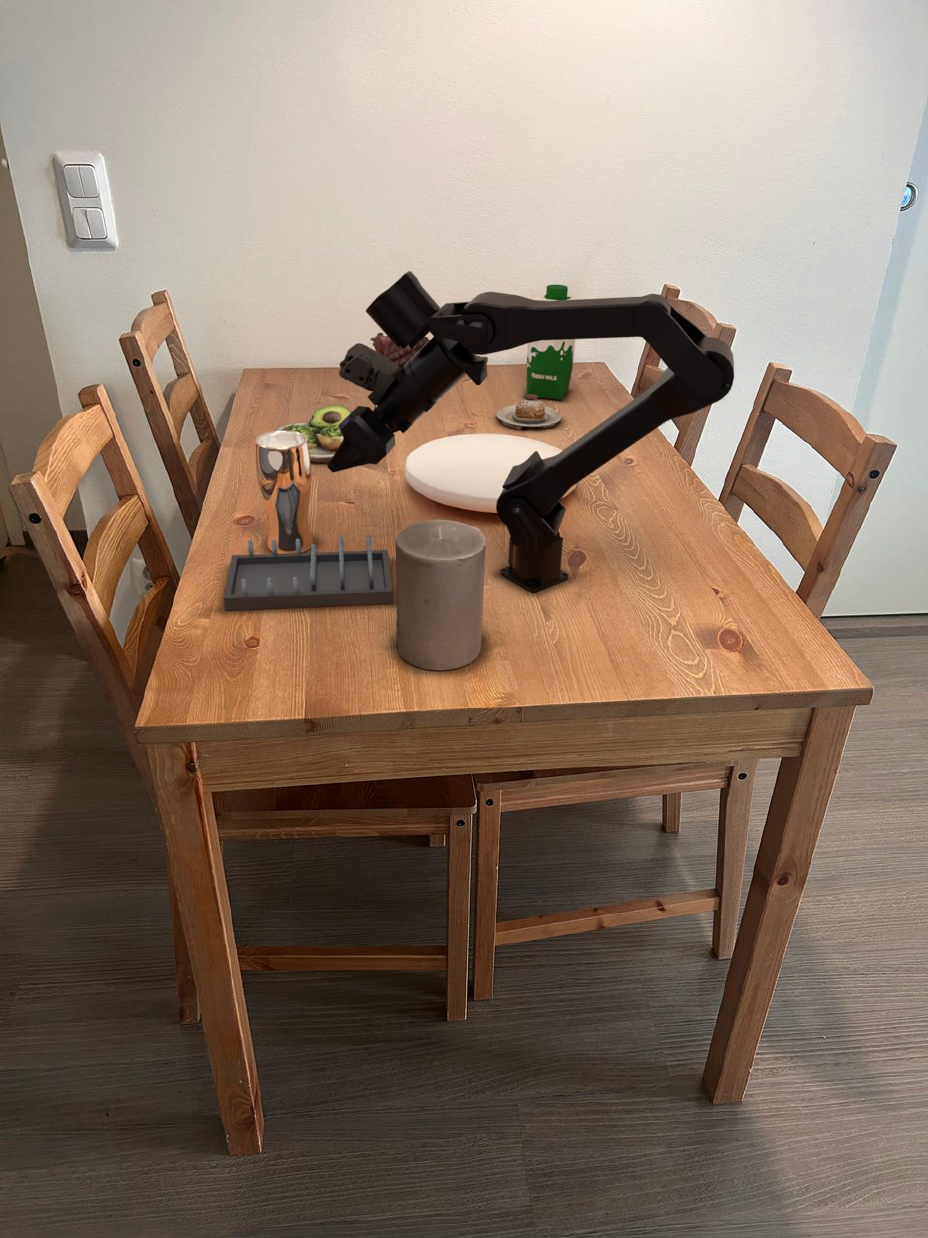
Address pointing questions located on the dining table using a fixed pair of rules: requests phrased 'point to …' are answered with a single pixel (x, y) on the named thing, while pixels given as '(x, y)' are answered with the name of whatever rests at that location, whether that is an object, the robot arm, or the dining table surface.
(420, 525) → the pillar candle
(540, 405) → the pastry
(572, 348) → the green white milk carton
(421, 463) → the plate
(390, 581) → the rack
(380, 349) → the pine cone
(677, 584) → the dining table surface
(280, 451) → the beer glass
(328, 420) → the salad plate
